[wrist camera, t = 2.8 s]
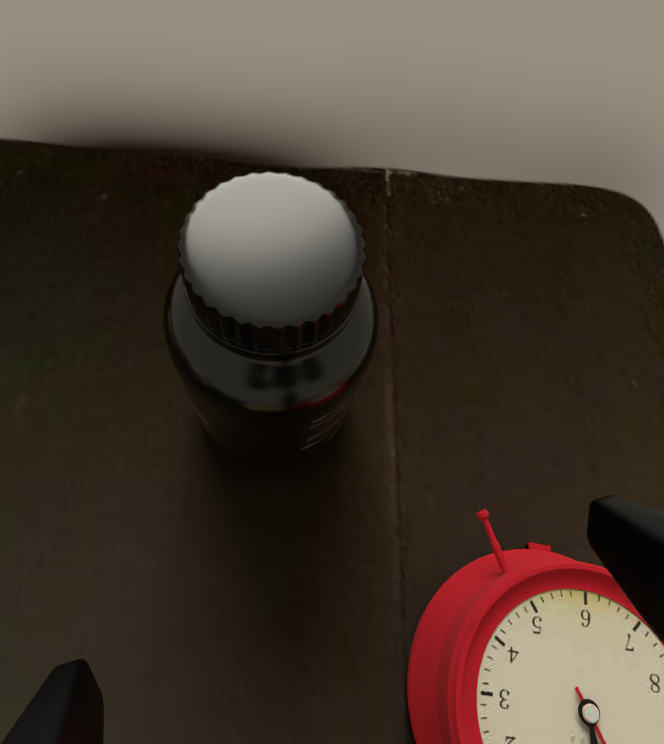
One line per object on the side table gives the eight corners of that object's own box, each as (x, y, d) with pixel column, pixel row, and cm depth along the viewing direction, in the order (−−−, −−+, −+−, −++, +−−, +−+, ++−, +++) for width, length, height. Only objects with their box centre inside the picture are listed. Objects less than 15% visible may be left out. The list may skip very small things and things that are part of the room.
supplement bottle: (166, 420, 23) (67, 267, 12) (254, 309, 26) (237, 99, 15) (296, 504, 23) (315, 420, 12) (373, 380, 25) (450, 214, 14)
